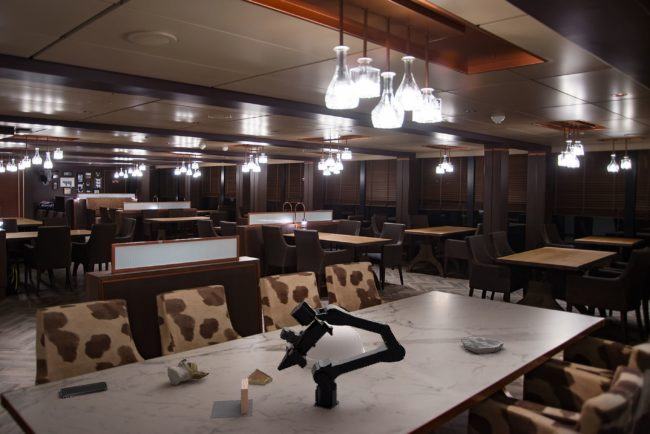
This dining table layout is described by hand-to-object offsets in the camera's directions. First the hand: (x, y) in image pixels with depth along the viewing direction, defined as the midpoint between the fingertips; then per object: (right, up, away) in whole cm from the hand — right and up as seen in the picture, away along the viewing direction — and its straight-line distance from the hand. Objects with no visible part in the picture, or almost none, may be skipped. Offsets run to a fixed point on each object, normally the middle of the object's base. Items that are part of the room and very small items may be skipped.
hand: (278, 369), depth 165 cm
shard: (-11, -12, +25) cm, 30 cm away
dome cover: (+18, -11, +50) cm, 54 cm away
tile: (-11, -12, -1) cm, 16 cm away
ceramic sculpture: (-37, -12, +24) cm, 46 cm away
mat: (-15, -12, -1) cm, 19 cm away
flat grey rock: (+87, -10, +65) cm, 109 cm away
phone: (-71, -12, +14) cm, 73 cm away
